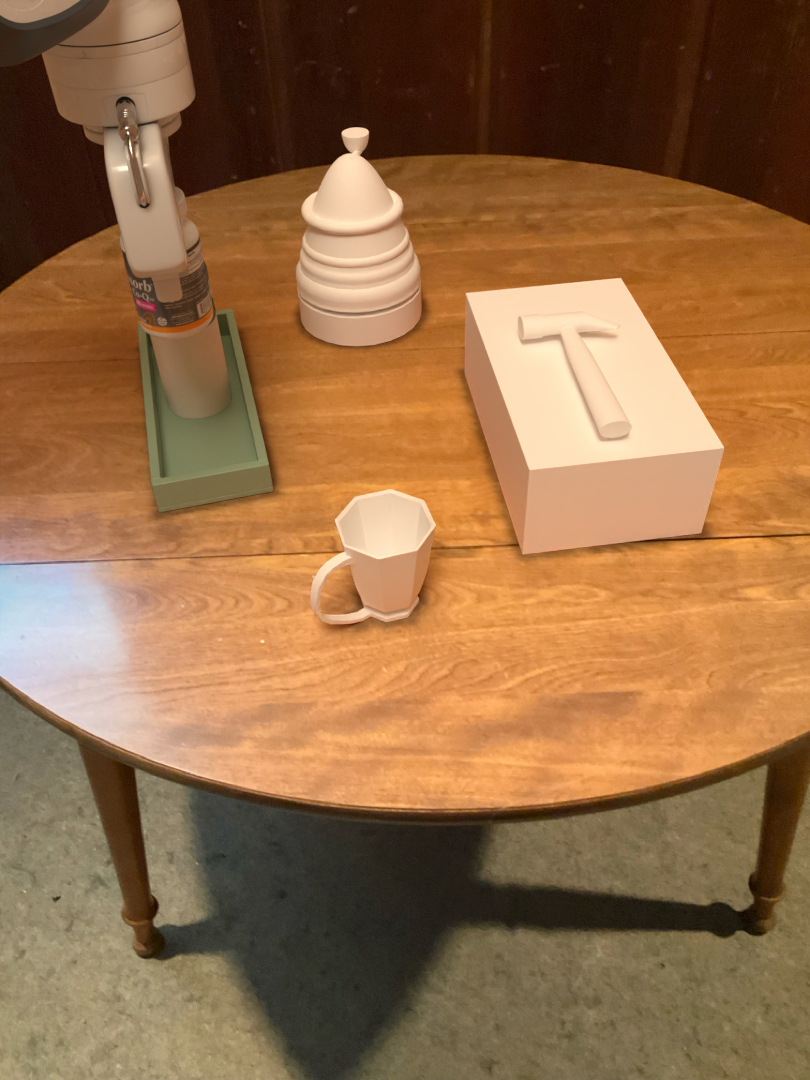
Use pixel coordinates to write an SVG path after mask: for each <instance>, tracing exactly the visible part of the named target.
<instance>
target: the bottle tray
mask: <svg viewBox="0 0 810 1080" xmlns="http://www.w3.org/2000/svg"><path fill="white" fill-rule="evenodd" d="M216 315H217V320H218V325H219V330H220V335H221V341H222V346H223V351H224V356H225V361H226V366H227V371H228V376H229V381H230V387H231V392H232V399H231V402H230V404H229V405H228V406H227V407H226V408H225V409H224V410H223V411H221V412H219V413H217V414H215V415H213V416H210V417H206V418H200V419H188V418H183V417H179V416H177V415H175V414H174V413H173V412H171V410H170V409H169V407H168V403H167V399H166V395H165V391H164V388H163V384H162V380H161V376H160V372H159V368H158V364H157V360H156V357H155V353H154V349H153V345H152V341H151V337H150V334H148V333H147V332H145V331H144V330H143V328H142V327H141V325H140V322H137V323H136V326H137V328H136V329H137V338H138V348H139V349H138V350H139V361H140V372H141V382H142V383H141V385H142V394H143V395H142V396H143V403H144V404H143V406H144V417H145V428H146V441H147V451H148V452H147V453H148V464H149V475H150V486H151V489H152V492H153V496H154V499H155V502H156V506H157V510H158V512H159V513H165V512H170V511H175V510H181V509H186V508H191V507H197V506H202V505H208V504H212V503H218V502H224V501H229V500H235V499H241V498H246V497H250V496H256V495H261V494H266V493H267V494H268V493H271V492H272V493H273V492H274V485H273V484H274V483H273V478H272V473H271V472H272V471H271V466H270V462H269V457H268V453H267V449H266V444H265V440H264V436H263V431H262V427H261V424H260V418H259V414H258V410H257V406H256V402H255V398H254V393H253V389H252V384H251V381H250V375H249V371H248V367H247V363H246V358H245V355H244V350H243V346H242V342H241V338H240V333H239V328H238V325H237V320H236V316H235V312H234V308H226V309H219V310H216Z"/></svg>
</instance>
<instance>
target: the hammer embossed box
mask: <svg viewBox="0 0 810 1080" xmlns="http://www.w3.org/2000/svg"><path fill="white" fill-rule="evenodd" d="M464 305H465V307H464V309H465V312H464V313H465V314H464V318H465V319H464V359H463V361H464V363H463V364H464V365H463V366H464V367H463V372H464V377H465V380H466V383H467V386H468V389H469V393H470V396H471V399H472V401H473V404H474V408H475V410H476V414H477V417H478V420H479V424H480V427H481V429H482V430H481V431H482V433H483V437H484V439H485V442H486V446H487V449H488V452H489V454H490V459H491V462H492V464H493V467H494V471H495V474H496V478H497V479H498V483H499V486H500V489H501V493H502V496H503V498H504V502H505V505H506V508H507V511H508V514H509V518H510V521H511V524H512V527H513V530H514V533H515V536H516V540H517V542H518V546H519V550H520V553H521V555H532V554H539V553H541V554H542V553H547V552H555V551H565V550H573V549H583V548H589V547H599V546H606V545H614V544H615V545H616V544H622V543H623V544H624V543H631V542H640V541H648V540H657V539H665V538H673V537H681V536H688V535H690V536H691V535H697V534H698V535H699V534H702V533H703V528H704V526H705V525H704V524H705V522H706V517H707V514H708V510H709V506H710V503H711V499H712V495H713V492H714V489H715V485H716V481H717V478H718V473H719V471H720V466H721V463H722V459H723V456H724V452H725V447H724V445H723V443H722V441H721V440H720V438H719V436H718V435H717V433H716V431H715V429H713V427H712V425H711V424H710V422H709V420H708V418H707V417H706V415H705V413H704V412H703V410H702V408H701V407H700V405H699V403H698V402H697V400H696V399H695V397H694V396H693V394H692V392H691V390H690V389H689V387H688V386H687V384H686V382H685V380H684V379H683V377H682V376H681V374H680V372H679V371H678V369H677V367H676V366H675V364H674V363H673V361H672V359H671V358H670V355H668V353H667V351H666V349H665V348H664V346H663V344H662V343H661V341H660V340H659V338H658V336H657V334H656V333H655V331H654V330H653V328H652V326H651V325H650V323H649V322H648V320H647V318H646V317H645V315H644V314H643V311H642V310H641V308H640V307H639V305H638V304H637V301H635V298H634V297H633V295H632V293H631V292H630V291H629V289H628V287H627V285H626V284H625V282H624V281H623V278H622V277H616V278H605V279H595V280H586V281H575V282H565V283H564V282H563V283H555V284H543V285H535V286H524V287H514V288H503V289H492V290H483V291H482V290H481V291H471V292H465V304H464Z"/></svg>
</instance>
